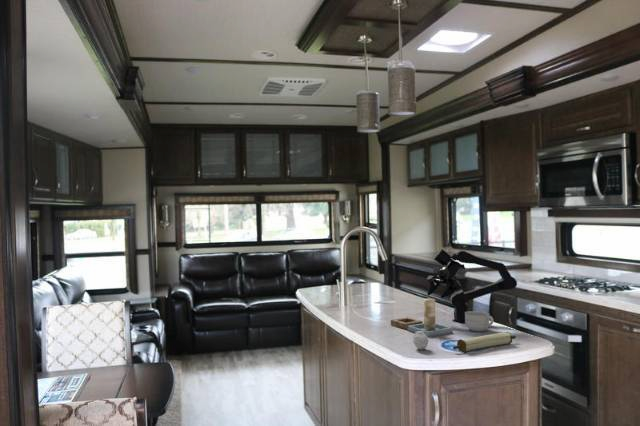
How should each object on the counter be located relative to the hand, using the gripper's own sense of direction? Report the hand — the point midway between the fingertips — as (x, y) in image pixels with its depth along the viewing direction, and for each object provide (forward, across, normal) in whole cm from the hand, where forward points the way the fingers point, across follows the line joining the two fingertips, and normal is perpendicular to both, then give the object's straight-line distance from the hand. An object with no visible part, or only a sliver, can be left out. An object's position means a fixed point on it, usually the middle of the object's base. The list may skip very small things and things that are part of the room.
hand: (434, 296), depth 236 cm
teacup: (+4, +20, +16) cm, 26 cm away
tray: (+18, +9, +1) cm, 20 cm away
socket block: (+18, -6, +1) cm, 19 cm away
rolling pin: (+18, +40, +2) cm, 44 cm away
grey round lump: (+34, +28, -14) cm, 46 cm away
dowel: (+17, +9, +1) cm, 20 cm away
